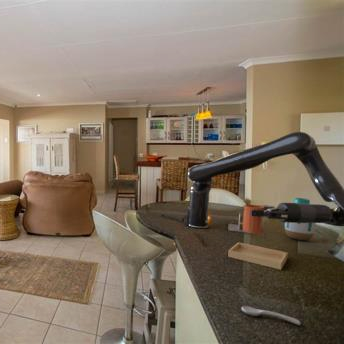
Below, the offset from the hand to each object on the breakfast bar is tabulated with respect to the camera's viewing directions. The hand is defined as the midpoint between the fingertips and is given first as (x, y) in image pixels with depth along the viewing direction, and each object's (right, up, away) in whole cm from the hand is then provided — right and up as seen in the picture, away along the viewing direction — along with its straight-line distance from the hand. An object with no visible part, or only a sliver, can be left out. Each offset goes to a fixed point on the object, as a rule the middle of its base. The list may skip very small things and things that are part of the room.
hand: (247, 210), depth 114 cm
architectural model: (+24, -15, +39) cm, 48 cm away
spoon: (-23, -22, -41) cm, 52 cm away
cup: (+2, -8, 0) cm, 8 cm away
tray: (+3, -18, -1) cm, 18 cm away
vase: (+39, -16, +22) cm, 48 cm away
